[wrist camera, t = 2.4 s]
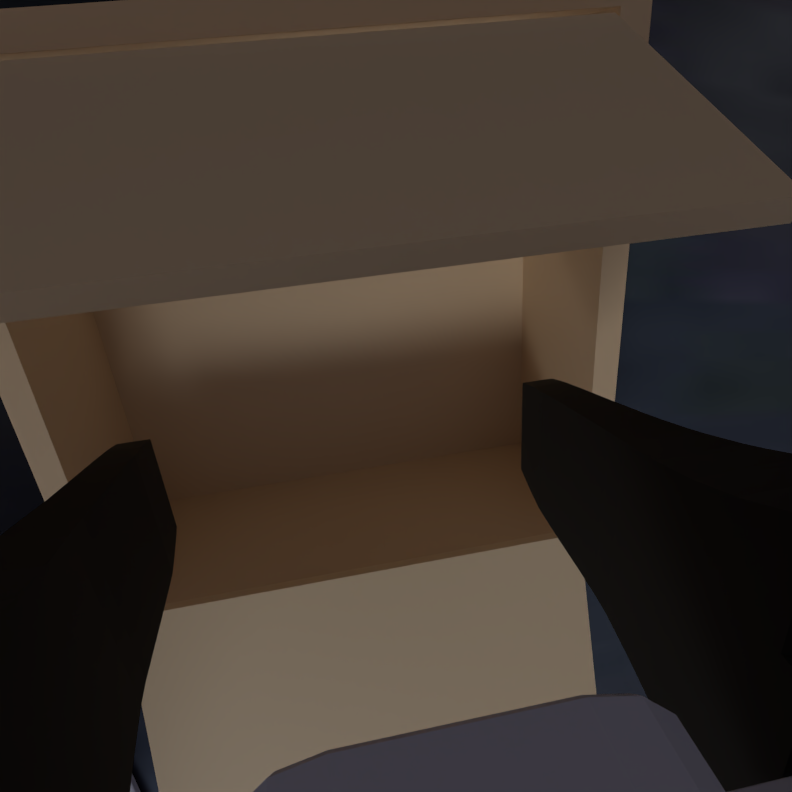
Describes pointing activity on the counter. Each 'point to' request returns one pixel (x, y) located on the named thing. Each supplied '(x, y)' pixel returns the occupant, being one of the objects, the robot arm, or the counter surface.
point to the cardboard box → (314, 354)
